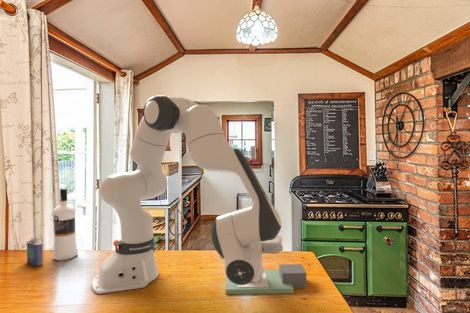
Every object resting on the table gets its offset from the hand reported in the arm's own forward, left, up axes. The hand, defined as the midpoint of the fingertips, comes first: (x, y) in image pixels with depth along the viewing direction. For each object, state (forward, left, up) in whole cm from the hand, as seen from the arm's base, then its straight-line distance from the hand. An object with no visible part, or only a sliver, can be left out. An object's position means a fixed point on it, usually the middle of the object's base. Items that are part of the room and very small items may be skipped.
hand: (252, 234), depth 100 cm
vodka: (-59, +59, -17) cm, 86 cm away
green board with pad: (+4, -2, -17) cm, 18 cm away
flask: (-70, +57, -17) cm, 92 cm away
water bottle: (0, 0, -15) cm, 15 cm away
